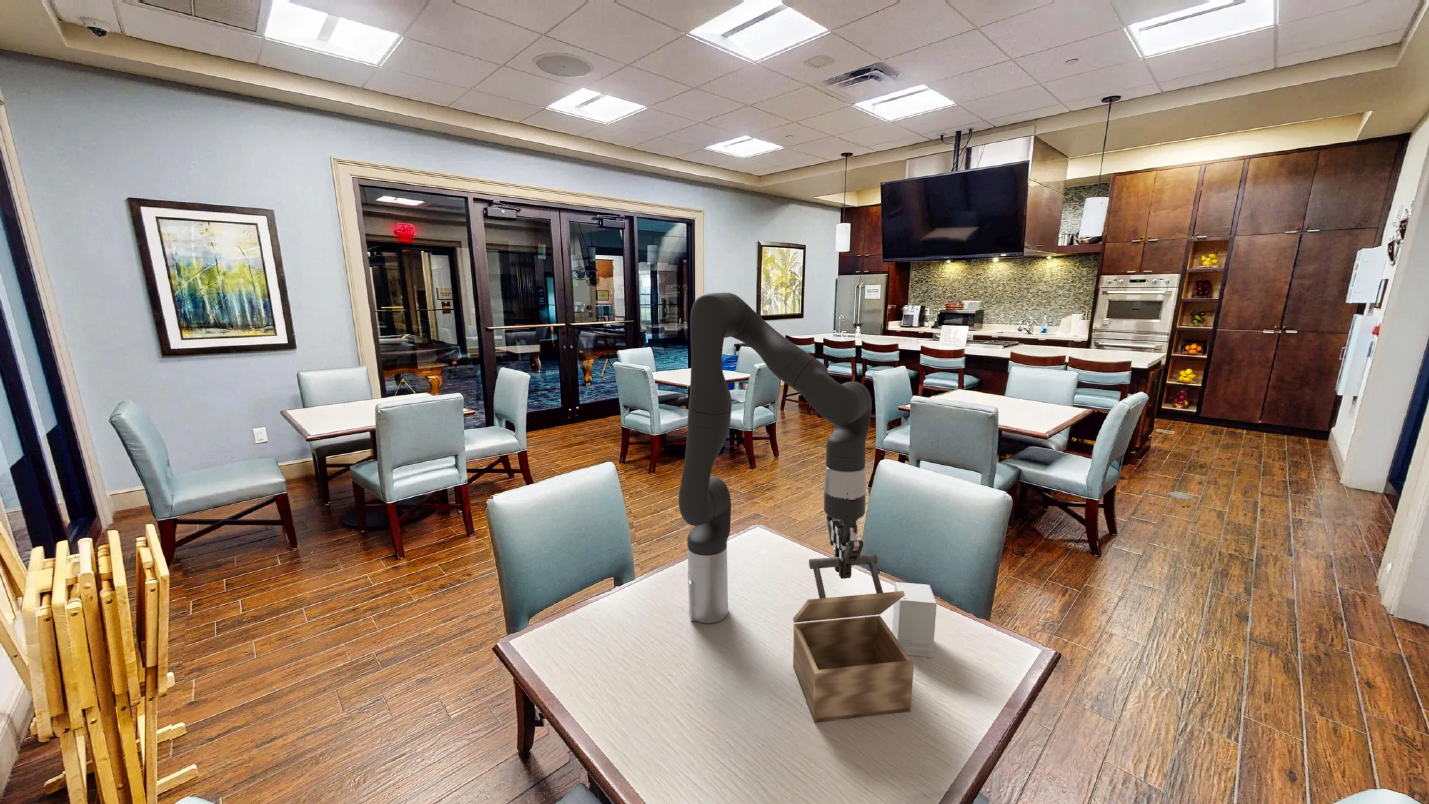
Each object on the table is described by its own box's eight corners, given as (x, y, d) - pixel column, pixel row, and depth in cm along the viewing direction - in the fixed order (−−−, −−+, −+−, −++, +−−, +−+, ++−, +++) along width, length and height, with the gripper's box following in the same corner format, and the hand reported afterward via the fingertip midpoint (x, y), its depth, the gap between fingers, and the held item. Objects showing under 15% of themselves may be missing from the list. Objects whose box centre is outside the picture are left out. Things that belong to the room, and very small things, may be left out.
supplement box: (933, 658, 107) (937, 603, 104) (896, 654, 108) (899, 600, 106) (926, 635, 114) (930, 584, 111) (891, 632, 115) (894, 580, 113)
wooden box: (814, 722, 92) (815, 673, 89) (793, 667, 105) (793, 623, 103) (910, 711, 94) (913, 663, 91) (877, 658, 107) (879, 615, 105)
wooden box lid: (808, 604, 92) (799, 556, 97) (793, 622, 103) (785, 578, 108) (905, 595, 94) (890, 548, 99) (879, 614, 105) (868, 571, 110)
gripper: (813, 478, 103) (813, 558, 106) (838, 504, 89) (836, 595, 93) (850, 476, 104) (848, 555, 107) (879, 501, 90) (876, 592, 93)
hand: (842, 574), depth 100 cm, fingers closed on wooden box lid, 2 cm apart
